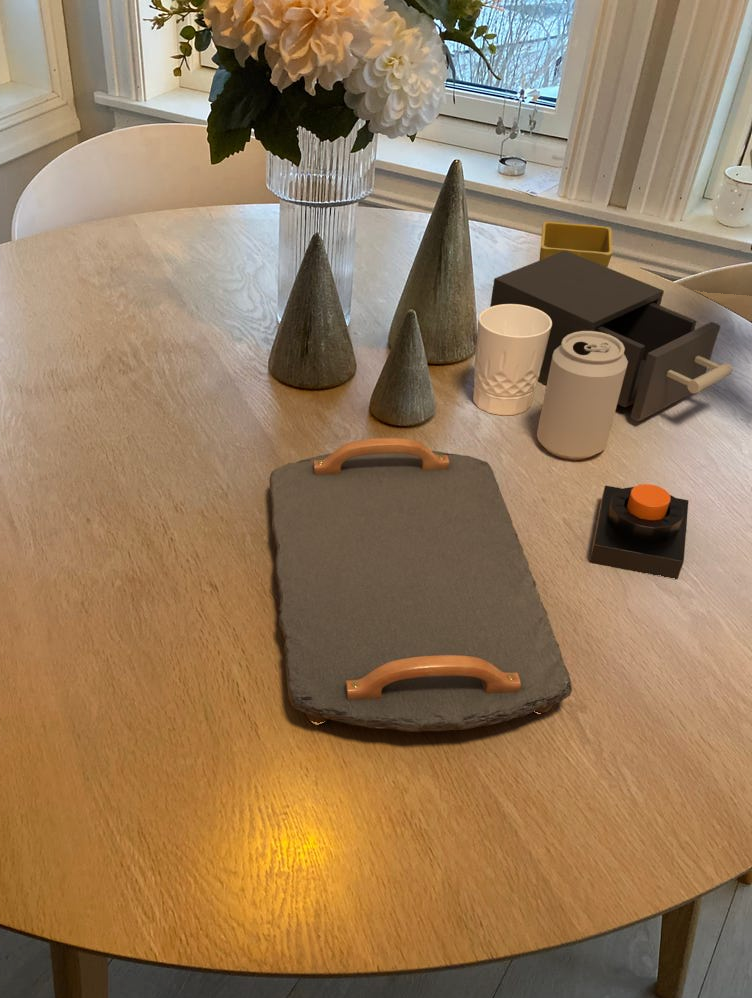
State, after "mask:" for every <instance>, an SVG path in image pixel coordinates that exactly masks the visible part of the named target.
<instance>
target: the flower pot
mask: <svg viewBox="0 0 752 998" xmlns="http://www.w3.org/2000/svg"><path fill="white" fill-rule="evenodd" d="M612 233H613V230H612V227H610V226H602V225H593V224H584V223H583V224H582V223H571V222H556V221H543V223H542V228H541V240H540V249H539V260H538V261H540V260H542V259H545V258H547V257H550V256H552V255H555V254H557V253H560V252H562V251H568V252H570V253H573V254H575V255H577V256H580V257H582V258H585V259H587V260H590V261H592V262H595V263H597V264H600V265H602V266H605V267H607V268H609V264H610V261H611V258H612V256H613V234H612Z"/></svg>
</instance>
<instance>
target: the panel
mask: <svg viewBox="0 0 752 998" xmlns="http://www.w3.org/2000/svg"><path fill="white" fill-rule="evenodd" d="M634 487H635V486H629V487H623V488H622V487H617V486H610V485H604V488H603V491H602V495H601V499H600V502H599V508H598V514H597V517H596V518H597V519H596V524H595V529H594V535H593V541H592V546H591V551H590V557H589V563H590V564H595V565H599V566H605V567H609V566H610V568H615V569H620V570H626V571H630V570H631V571H630V572H635V573H640V572H641V574H645V573H648V574H647V575H650V574H653V575H652V576H655V575H661V576H664V577H663V578H665V577H670V578H675V579H674V580H676V579H677V580H678V579H679V576H680V573H681V571H682V569H683V568H682V567H683V565H684V562H685V549H686V539H687V526H688V512H689V499H684V498H679V497H675V496H674V495H672V494H670V497H671V500H670V503H669V506H668V510H667V513H666V515H665V517H664V518H663V519H659V520H647V519H641V518H638V517H637V516H635V515H633V514H631V513H629V512H628V510H627V503H628V500H629V497H630V493H631V490H632V489H633V488H634ZM636 571H637V572H636ZM649 573H650V574H649ZM670 578H669V579H670Z"/></svg>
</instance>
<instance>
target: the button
mask: <svg viewBox="0 0 752 998" xmlns="http://www.w3.org/2000/svg"><path fill="white" fill-rule="evenodd" d="M633 487H634V488H633V489H632V490H631V493H630V497H629V500H628V503H627V510H628V512H629V513H631V514H633V515H635V516H637V517H638V518H641V519H647V520H659V519H663V518H664V517H665V515H666V513H667V510H668V506H669V503H670V500H671V497H670V495H671V494H670V493H669V491H668V490H666V489H664V488H662V487H661V486H658V485H655V484H648V483H643V484H639V485H636V486H633Z"/></svg>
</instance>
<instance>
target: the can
mask: <svg viewBox="0 0 752 998" xmlns="http://www.w3.org/2000/svg"><path fill="white" fill-rule="evenodd" d="M624 350H625V347H624V345H623V343H622V342H621V341H619V340H618V339H617V338H615V337H613V336H611V335H609V334H605V333H602V332H596V331H579V332H574V333H571V334H569V335H567V336H566V337H564V338H563V340H562V343H561V345H560V346H559V347H558V348H557V349H555V350H554V353H553V356H552V361H551V366H550V371H549V376H548V381H547V385H545V386H546V387H545V391H544V396H543V402H542V407H541V411H540V416H539V421H538V427H537V431H536V437H537V441H538V442H539V443H540V445H542V447H544V449H545V450H546V451H547V452H549V453H550V454H551V455H553V456H555V457H558V458H561V459H565V460H570V461H572V460H573V461H579V460H585V459H589V458H591V457H593V456H595V455H597V454H600V453H602V452H603V451H604V450H605V449H606V448H607V446H608V445H607V444H608V441H609V437H610V434H611V430H612V426H613V422H614V417H615V413H616V410H617V406H618V404H617V403H618V399H619V395H620V391H621V387H622V383H623V380H624V376H625V372H626V368H627V364H628V361H627V358H626V356H625V355H624Z"/></svg>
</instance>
